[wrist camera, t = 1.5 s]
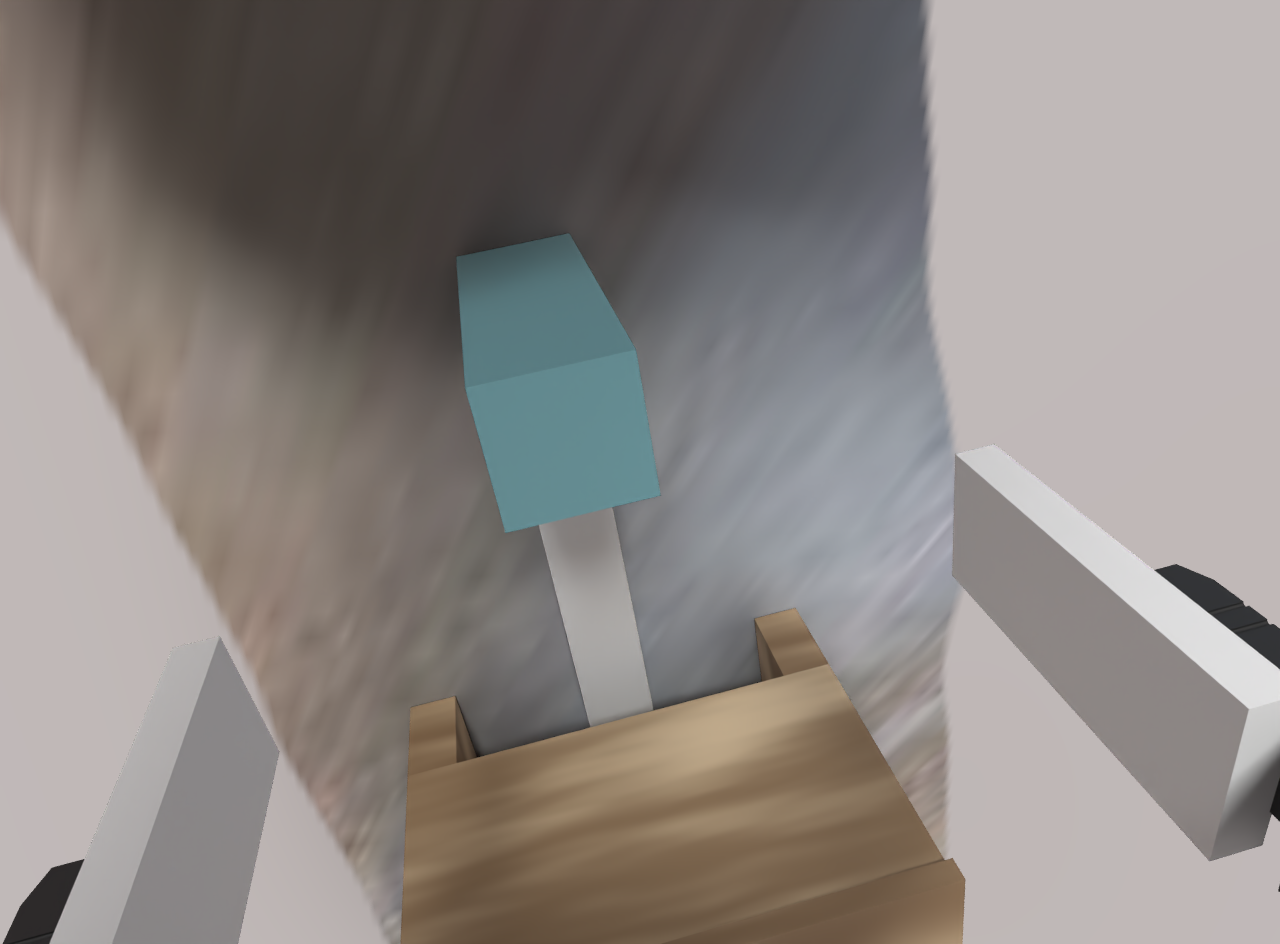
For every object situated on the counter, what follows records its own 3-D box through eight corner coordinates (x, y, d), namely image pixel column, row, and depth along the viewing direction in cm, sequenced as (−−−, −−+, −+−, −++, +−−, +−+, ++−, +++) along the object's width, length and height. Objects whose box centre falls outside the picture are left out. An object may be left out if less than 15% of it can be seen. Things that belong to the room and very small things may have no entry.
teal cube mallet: (456, 257, 30) (464, 387, 20) (569, 233, 31) (636, 349, 20) (592, 773, 43) (641, 1018, 33) (670, 752, 43) (743, 986, 33)
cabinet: (404, 705, 39) (387, 1050, 26) (799, 603, 40) (965, 879, 28) (483, 904, 46) (500, 1253, 33) (816, 810, 48) (954, 1106, 35)
